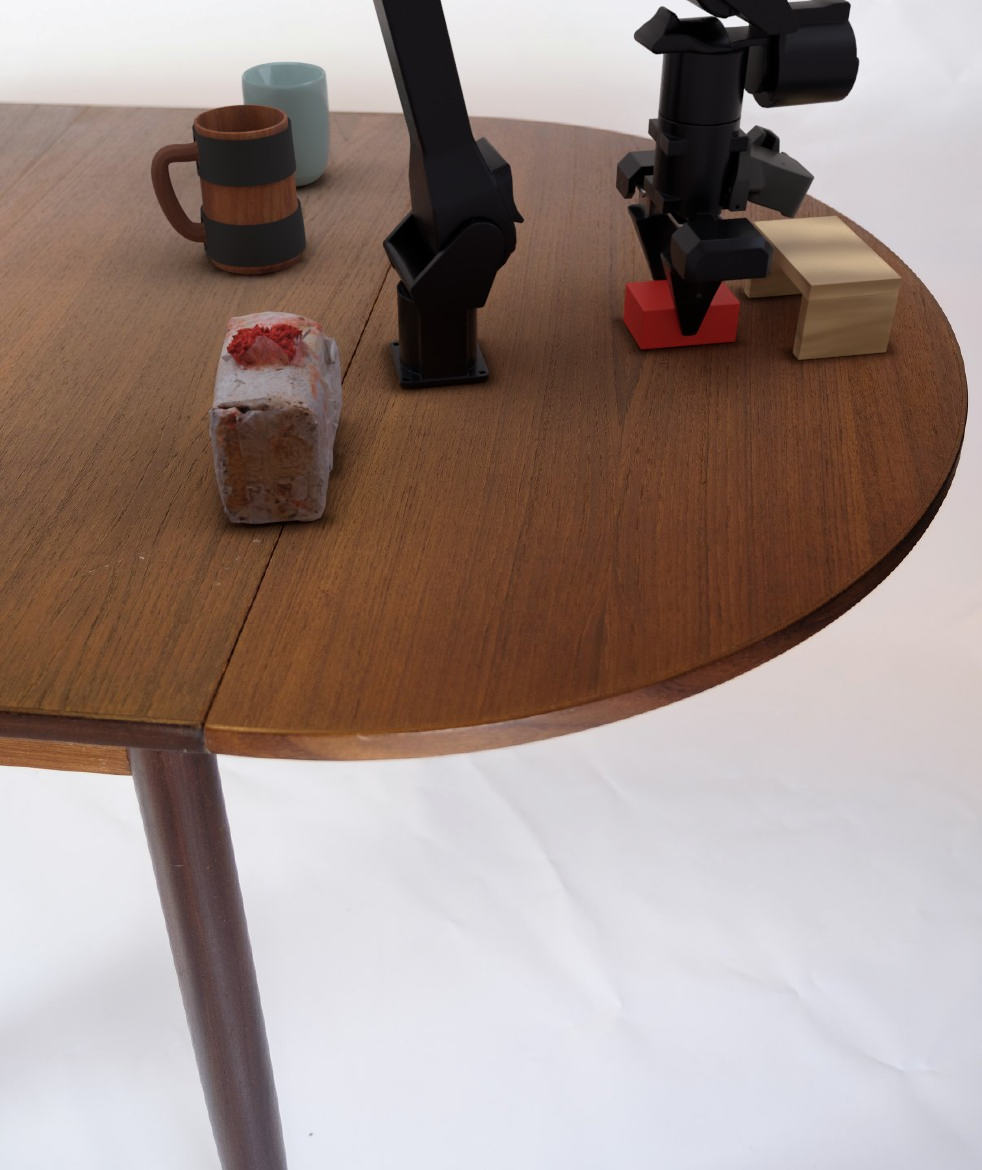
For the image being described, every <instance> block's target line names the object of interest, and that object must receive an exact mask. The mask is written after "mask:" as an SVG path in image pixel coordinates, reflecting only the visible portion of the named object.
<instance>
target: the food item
mask: <svg viewBox="0 0 982 1170" xmlns="http://www.w3.org/2000/svg"><path fill="white" fill-rule="evenodd" d="M342 387H343V386H342V371H341V362H340V355H339V346H338V344H337V340H336V338H334V337H328V336H326V335H325V333H324V331H323V325H322V324H320V323H319V322H317V321H315V320H312V319H310V318H309V317H307V316H306V317H305V316H302V315H299V314H294V313H291V312H290V313H289V312H282V311H269V310H267V311H263V312H257V313H251V314H246V315H242V316H241V315H240V316H233V317H230V318H229V321H228V323H227V327H226V333H225V338H224V341H223V344H222V349H221V352H220V355H219V360H218V366H217V370H216V377H215V381H214V389H213V403H212V407H211V408H210V409H209V411H208V415H209V421H208V422H209V426H208V428H209V430H208V434H209V437H210V439H211V446H212V454H213V455H212V457H213V467H214V472H215V478H216V483H217V488H218V493H219V496H220V499H221V503H222V506H223V508H224V509H223V511H224V513H225V514H226V515H227V517H228V519H229V520H230V523H234V524H247V525H251V524H252V525H259V524H260V525H262V524H263V525H264V524H268V523H276V522H290V521H292V522H293V521H300V522H302V523H303V522H304V523H305V522H313V521H316V520H319V519H320V518H321V517H322V516H323V513H324V511H325V509H326V504H327V492H328V489H329V478H330V473H331V471H332V470H333V469H334V451H333V450H334V444H335V439H336V435H337V430H338V427H339V420H340V416H341V412H342V408H343V388H342Z"/></svg>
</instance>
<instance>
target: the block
mask: <svg viewBox="0 0 982 1170" xmlns="http://www.w3.org/2000/svg"><path fill="white" fill-rule="evenodd" d="M624 291H625V292H624V293H625V294H624V306H623V319H622V321H623V323H624V324H625V326H626V327H627V329H628V331H629V333H630V334H631V336H632V337H633V339H634V341H635V342H636V344H637V345H638V347H639V349H640V350H651V349H663V348H675V347H687V346H699V345H711V344H723V343H734V342H736V338H737V333H738V324H739V316H740V309H741V302H740V301H739V300H738V298H737V297H736V295H735V294H734V293H733V292H732V290H731V289H730V288H729V287H728V285H727V284H726V283H725V281H722V283H721V285H720V287H719V288H718V290H717V292H716V294H715V296H714V298H713V300H712V302H711V304H710V307H709V309H708V311H707V313H706V315H705V317H704V319H703V321H702V324H701V326H700V328H699V330H698V332H697V334H696V335H693V336H683V335H682V333H681V331H680V327H679V324H678V320H677V317H676V313H675V309H674V305H673V301H672V297H671V293H670V289H669V286H668V282H667V280H658V281H653V280H647V281H634V282H626V283H625V290H624Z"/></svg>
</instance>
